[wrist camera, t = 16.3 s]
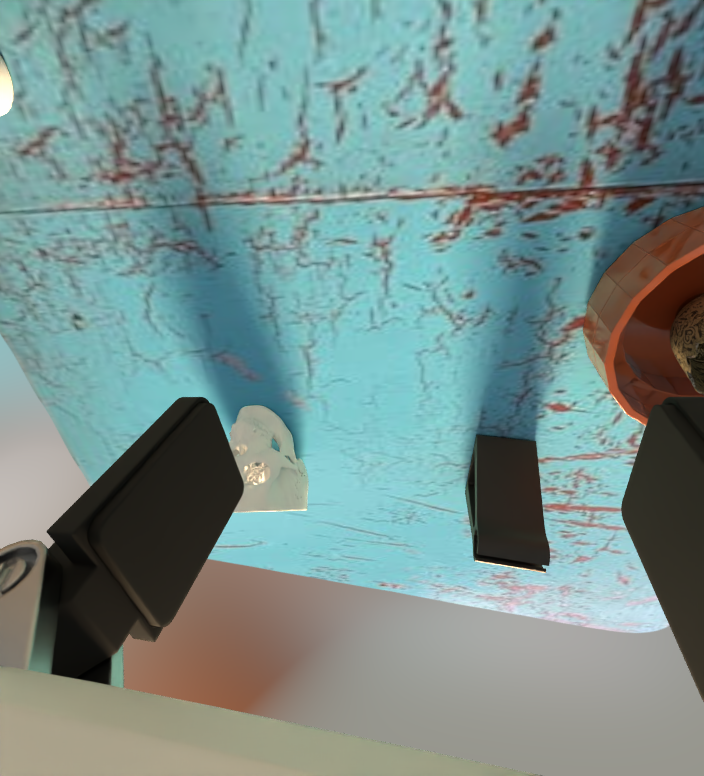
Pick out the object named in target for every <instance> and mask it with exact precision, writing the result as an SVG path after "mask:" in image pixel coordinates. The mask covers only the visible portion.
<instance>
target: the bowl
mask: <svg viewBox="0 0 704 776" xmlns="http://www.w3.org/2000/svg"><path fill="white" fill-rule="evenodd" d="M703 292H704V207H701V208H698V209H696V210H693V211H690V212H687V213H684V214H682V215H679V216H676V217H673V218H671V219H669V220H667V221H666V222H664V223H663V224H661V225H660V226H658V227H657V228H655V229H653V230H652V231H650V232H649V233H647V234H646V235H644V236H643V237H641V238H640V239H638V240H636V241H635V242H633V244H631V245H630V246H629V247H628V248H627V249H626V250H625V251H624V253H623V254H622V255H621V256H620V257H619V258H618V259H617V260H616V261H615V262H614V263H613V264H612V265H611V266H610V267H609V268H608V269H607V270H606V271H605V273H604V274H603V276H602V278H601V279H600V281H599V283H598V285H597V287H596V289H595V290H594V292H593V294H592V296H591V298H590V299H589V301H588V305H587V310H586V316H585V321H584V327H583V335H584V339H585V344H586V349H587V353H588V357H589V358H590V360H591V362H592V363H593V365H594V367H595V368H596V370H597V372H598V373H599V375H600V377H601V378H602V380H603V382H604V383H605V385H606V386H607V388H608V390H609V391H610V393H611V394H612V396H613V397H614V398H615V400H616V401H617V402H618V404H619V405H620V406H621V408H622V409H623V411H624V412H625V413H626V414H627V415H629V416H630V417H632V418H634V419H635V420H637V421H639V422H640V423H642V424H643V425H645V426H646V424H647V421H648V418H649V415H650V412H651V409H652V408H653V406H654V405H662V403H663V401H664V400H665V399H666V398H668V397H704V395H703V394H700V393H698V392H697V391H696V390H695V389H694V387H693V385H692V383H691V381H690V380H689V378H688V377H687V375H686V374H685V372H684V370H683V369H682V367H681V366H680V364H679V362H678V361H677V359H676V357H675V355H674V353H673V350H672V348H671V344H670V330H671V326H672V323H673V321H674V319H675V314H676V311H677V309H678V308H679V306H680V305H681V304H682V303H683V302H684V301H685V300H687V299H688V298H690V297H692V296H694V295H696V294H699V293H703Z"/></svg>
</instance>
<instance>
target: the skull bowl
mask: <svg viewBox="0 0 704 776" xmlns="http://www.w3.org/2000/svg"><path fill="white" fill-rule="evenodd" d="M230 436H231V440H230V442H229V445H230V448H231V450H232V453H233V455H234V458H235V461H236V463H237V466H238V468H239V471H240V474H241V476H242V479H243V482H244V492H243V495H242V497H241V499H240V501H239V503H238V504H237V506H236V508H235V510H234V512H269V511H296V510H307V494H308V475H307V470H306V467H305V465H304V463H303V461H302V459H300V458H298V459H296V456H295V451H294V444H293V438H292V434H291V433H290V431H289V430H288V429H287V427H286V426H285V424H284V422H283V421H282V420H281V418H280V417H279V416H278V415H276V414H275V413H274V412H273V411H271V410H270V409H268V408H266V407H264V406H260V405H252V406H246V407H243V408H242V409H240V411H239V414H238V417H237V420H236V423H234V424H233V425H232V427H231V432H230ZM272 438H273V439H274V441H275V442H276V443H277V444H278V446H279V449H280V452H279V451H276V450H274V449H272V443H271V442H272ZM285 456H286V457H285ZM288 456H289V458H290V461H289V458H288ZM249 464H250V465H249Z"/></svg>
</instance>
